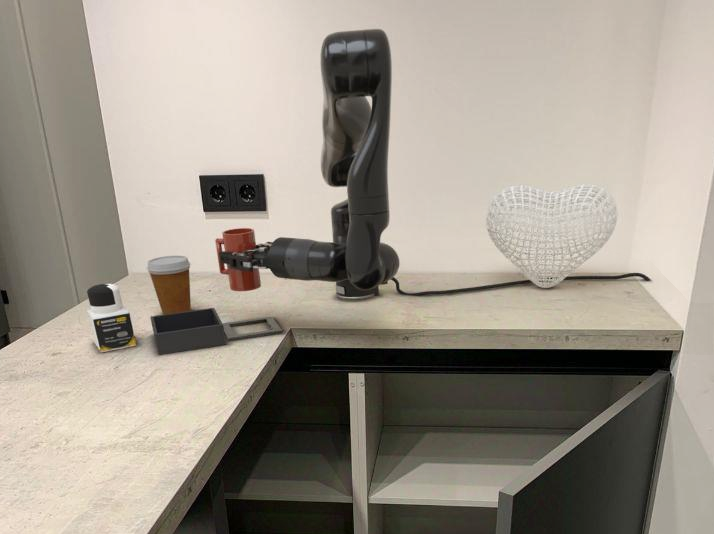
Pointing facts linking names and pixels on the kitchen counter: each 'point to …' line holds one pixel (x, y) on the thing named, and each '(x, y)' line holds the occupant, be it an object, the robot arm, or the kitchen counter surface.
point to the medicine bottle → (109, 318)
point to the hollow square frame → (232, 336)
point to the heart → (551, 196)
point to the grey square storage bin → (187, 331)
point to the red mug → (239, 243)
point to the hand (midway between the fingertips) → (232, 253)
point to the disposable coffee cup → (171, 283)
